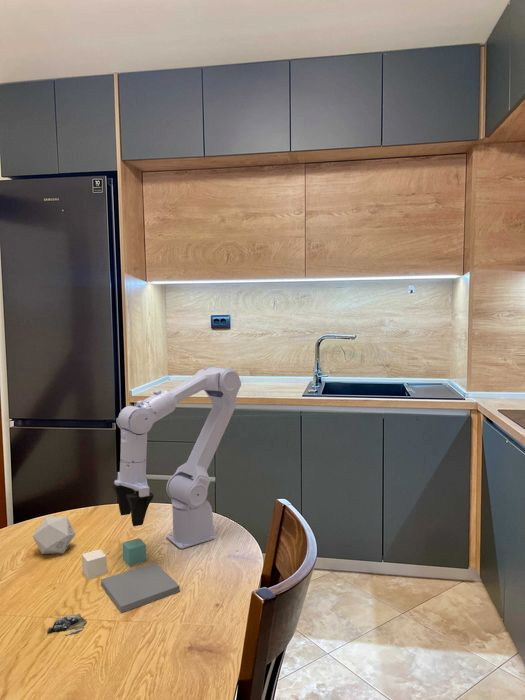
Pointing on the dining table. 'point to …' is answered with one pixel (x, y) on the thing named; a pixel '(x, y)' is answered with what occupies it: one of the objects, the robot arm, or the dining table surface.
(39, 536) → the die
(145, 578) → the plate
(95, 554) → the cream cube
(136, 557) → the teal cube
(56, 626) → the blueberries
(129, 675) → the dining table surface
